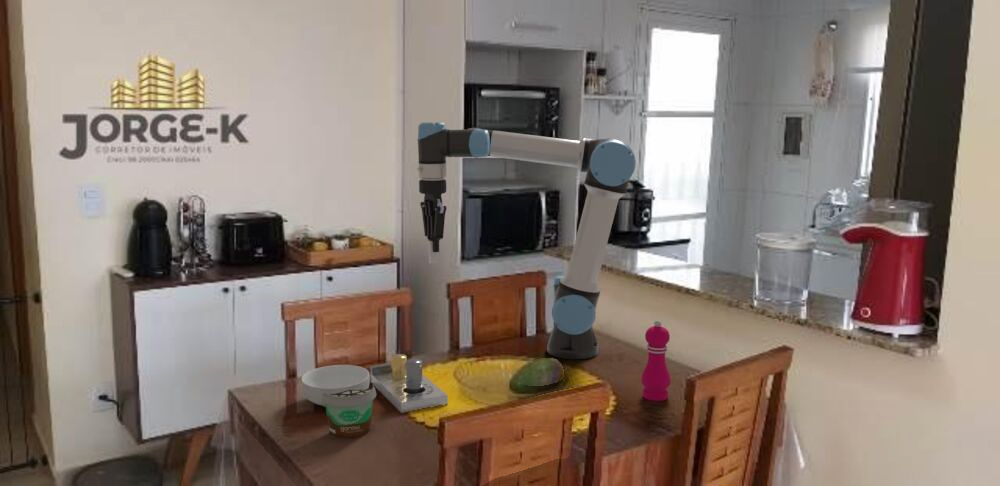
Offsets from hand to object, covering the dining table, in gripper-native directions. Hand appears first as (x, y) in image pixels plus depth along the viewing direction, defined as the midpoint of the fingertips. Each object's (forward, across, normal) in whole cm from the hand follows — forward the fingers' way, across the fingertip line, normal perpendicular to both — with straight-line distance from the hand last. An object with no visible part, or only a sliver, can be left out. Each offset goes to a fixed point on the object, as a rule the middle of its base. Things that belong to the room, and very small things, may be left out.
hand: (434, 262), depth 224 cm
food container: (+29, +38, -36) cm, 60 cm away
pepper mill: (+30, +51, +38) cm, 70 cm away
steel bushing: (+29, +24, -16) cm, 41 cm away
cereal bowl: (+29, +17, -34) cm, 48 cm away
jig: (+29, +19, -16) cm, 38 cm away
